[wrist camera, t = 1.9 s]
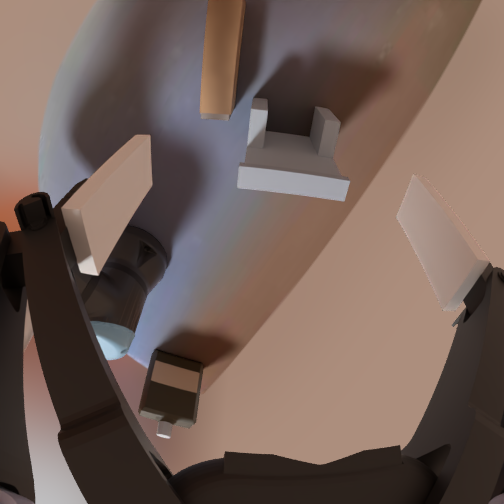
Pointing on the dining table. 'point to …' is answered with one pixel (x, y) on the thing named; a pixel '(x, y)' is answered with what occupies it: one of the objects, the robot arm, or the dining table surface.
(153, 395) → the bottle
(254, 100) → the grey u-shaped bracket
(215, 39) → the rail
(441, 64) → the dining table surface
